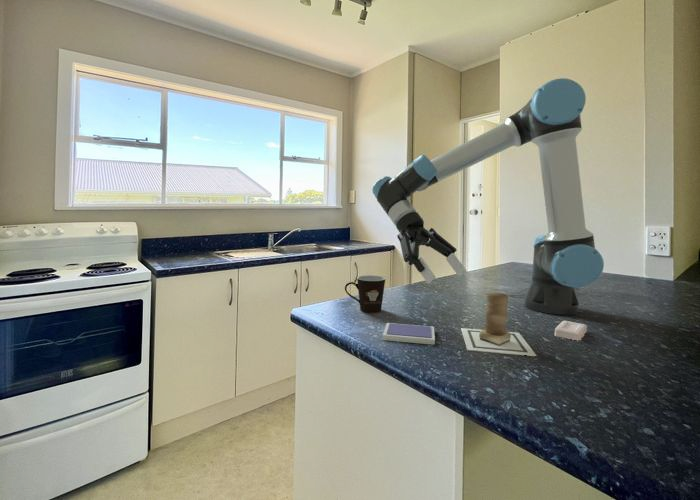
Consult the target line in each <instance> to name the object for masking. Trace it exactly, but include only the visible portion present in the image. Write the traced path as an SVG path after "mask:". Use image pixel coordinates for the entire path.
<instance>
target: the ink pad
mask: <svg viewBox="0 0 700 500" xmlns="http://www.w3.org/2000/svg"><path fill="white" fill-rule="evenodd" d="M382 341H390V342H401V343H403V342H404V343H413V344H424V345H433V346H434V345H435V344H436V336H435V326H431V325H430V326H428V325H418V324H406V323H405V324H404V323H395V322H393V323H392V322H386V324H385V327H384V330H383V333H382Z"/></svg>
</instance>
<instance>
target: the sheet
mask: <svg viewBox="0 0 700 500" xmlns="http://www.w3.org/2000/svg"><path fill="white" fill-rule="evenodd" d="M460 330H461V333H462V336H463V339H464V343H465V347H466V350H467V351H469V352H470V351H471V352H472V351H473V352H481V353H482V352H484V353H492V354H503V355H504V354H505V355H513V356H514V355H516V356H524V355H527V357H535V356H537V354H536V353H535V351H533V349H532V348H531V346H530V345H529V344H528V343H527V341H526V340H525V338H524V337H523V336H522V334H520V332H515V331H508V332H509V333H511V339H510V341H509V342H507V343H505V344H502V345H500V346H498V345H495V344H492V343H489V342H486V341H483V340H480V338H479V334H480V331H482V330H483V329H477V328H465V327H464V328H463V327H461V328H460Z"/></svg>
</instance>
